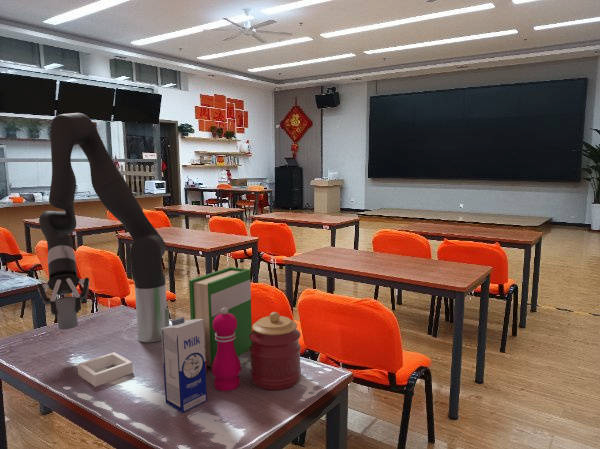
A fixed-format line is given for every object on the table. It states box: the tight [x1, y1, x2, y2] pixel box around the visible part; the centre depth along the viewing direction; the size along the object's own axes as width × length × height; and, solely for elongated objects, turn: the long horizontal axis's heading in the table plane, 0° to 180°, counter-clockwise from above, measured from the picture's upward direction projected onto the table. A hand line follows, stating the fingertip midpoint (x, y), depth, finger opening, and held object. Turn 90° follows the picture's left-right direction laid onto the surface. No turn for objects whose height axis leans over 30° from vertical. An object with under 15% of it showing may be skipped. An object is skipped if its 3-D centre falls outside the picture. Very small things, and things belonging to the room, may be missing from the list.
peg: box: [55, 296, 79, 330], centre depth 129 cm, size 5×5×8 cm
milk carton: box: [161, 317, 208, 414], centre depth 104 cm, size 7×7×20 cm
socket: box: [77, 351, 134, 388], centre depth 120 cm, size 10×10×3 cm
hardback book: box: [188, 266, 253, 372], centre depth 129 cm, size 18×7×24 cm, turn 151°
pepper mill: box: [211, 308, 242, 392], centre depth 112 cm, size 7×7×20 cm
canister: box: [249, 311, 302, 391], centre depth 115 cm, size 13×13×18 cm
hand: (66, 312), depth 129 cm, fingers closed on peg, 5 cm apart
